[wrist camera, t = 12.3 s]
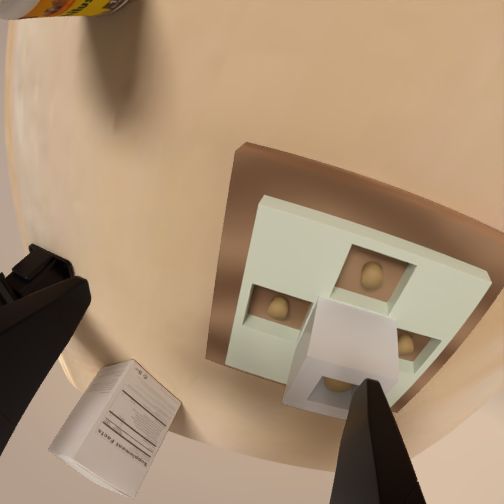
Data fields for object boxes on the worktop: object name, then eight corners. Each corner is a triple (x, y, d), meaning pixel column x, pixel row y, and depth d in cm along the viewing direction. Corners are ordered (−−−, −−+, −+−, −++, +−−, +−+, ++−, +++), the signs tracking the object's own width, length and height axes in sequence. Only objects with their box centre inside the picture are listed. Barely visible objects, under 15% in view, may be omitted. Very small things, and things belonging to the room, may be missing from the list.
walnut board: (397, 395, 26) (394, 460, 20) (213, 342, 28) (182, 404, 23) (512, 237, 16) (556, 308, 10) (246, 142, 18) (194, 184, 12)
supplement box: (145, 405, 42) (100, 487, 30) (101, 366, 39) (45, 448, 27) (184, 403, 37) (135, 502, 25) (134, 357, 34) (69, 460, 22)
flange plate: (486, 271, 15) (515, 339, 11) (388, 398, 24) (385, 457, 19) (264, 194, 17) (228, 250, 13) (229, 353, 25) (204, 410, 21)
